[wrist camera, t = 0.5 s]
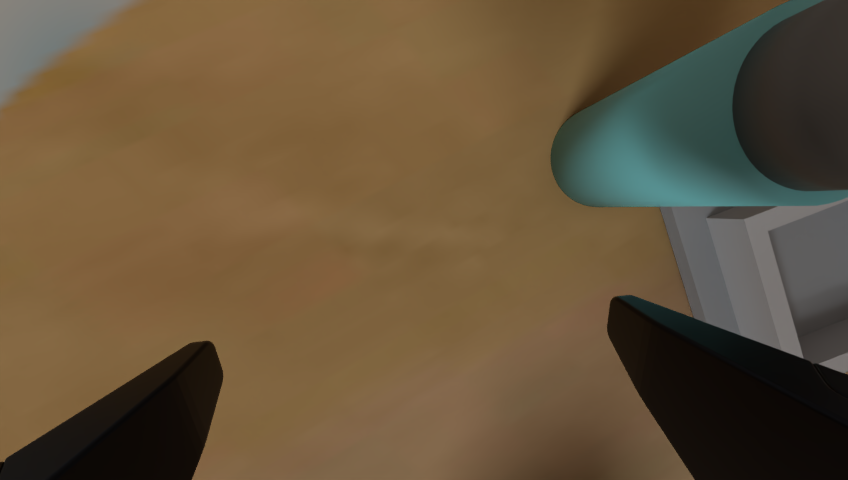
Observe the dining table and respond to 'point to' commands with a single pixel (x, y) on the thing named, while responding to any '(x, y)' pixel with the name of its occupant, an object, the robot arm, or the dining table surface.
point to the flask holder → (768, 274)
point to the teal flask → (723, 122)
